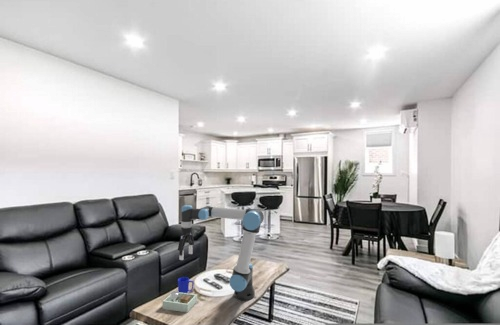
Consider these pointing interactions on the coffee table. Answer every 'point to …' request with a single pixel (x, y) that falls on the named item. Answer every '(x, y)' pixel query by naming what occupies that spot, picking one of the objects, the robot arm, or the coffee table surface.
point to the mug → (184, 285)
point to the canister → (175, 296)
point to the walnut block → (185, 299)
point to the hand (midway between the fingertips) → (186, 256)
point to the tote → (180, 306)
